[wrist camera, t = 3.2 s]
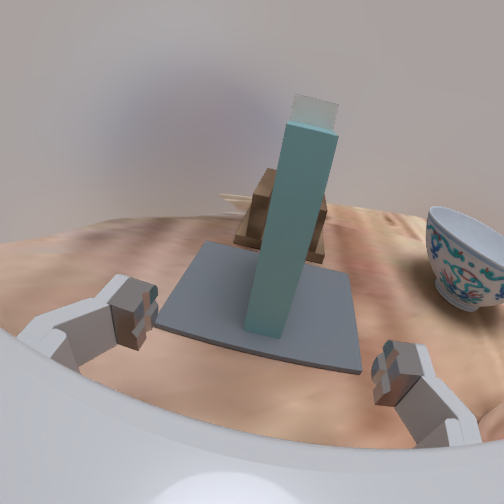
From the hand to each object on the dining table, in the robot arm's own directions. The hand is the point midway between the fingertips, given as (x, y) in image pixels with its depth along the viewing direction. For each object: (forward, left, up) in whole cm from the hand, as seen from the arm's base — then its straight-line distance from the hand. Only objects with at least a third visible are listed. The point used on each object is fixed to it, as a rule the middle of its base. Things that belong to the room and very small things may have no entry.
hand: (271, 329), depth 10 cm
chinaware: (+22, +20, -8) cm, 30 cm away
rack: (0, +24, -8) cm, 26 cm away
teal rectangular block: (0, +12, -7) cm, 14 cm away
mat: (0, +12, -8) cm, 14 cm away
